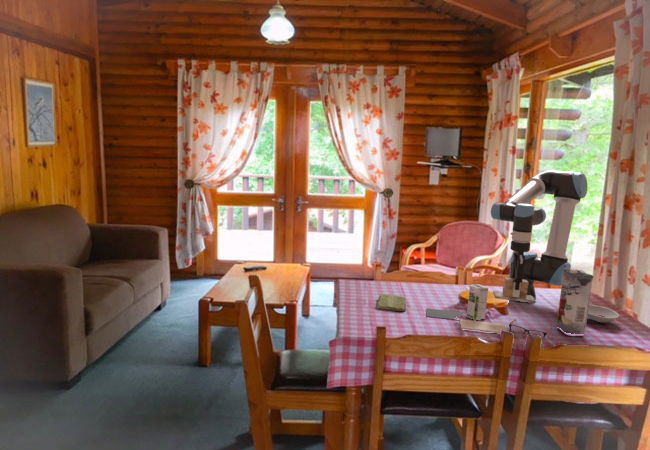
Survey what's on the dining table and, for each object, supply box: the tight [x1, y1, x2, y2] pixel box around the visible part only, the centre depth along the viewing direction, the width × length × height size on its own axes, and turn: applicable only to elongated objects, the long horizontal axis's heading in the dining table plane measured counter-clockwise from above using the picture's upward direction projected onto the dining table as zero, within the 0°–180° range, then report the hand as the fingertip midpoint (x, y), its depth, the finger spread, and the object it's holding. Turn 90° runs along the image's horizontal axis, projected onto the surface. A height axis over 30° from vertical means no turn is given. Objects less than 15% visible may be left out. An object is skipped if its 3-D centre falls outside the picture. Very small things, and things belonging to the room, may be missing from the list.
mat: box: [425, 308, 464, 320], centre depth 225 cm, size 16×11×1 cm
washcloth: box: [376, 293, 407, 313], centre depth 234 cm, size 13×18×3 cm
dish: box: [587, 304, 620, 323], centre depth 225 cm, size 18×14×5 cm
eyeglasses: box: [508, 319, 552, 338], centre depth 209 cm, size 14×14×4 cm
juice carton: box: [556, 267, 594, 335], centre depth 208 cm, size 9×10×27 cm
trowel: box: [492, 276, 537, 304], centre depth 217 cm, size 16×8×8 cm, turn 78°
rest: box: [459, 318, 508, 333], centre depth 210 cm, size 18×10×1 cm, turn 78°
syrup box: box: [466, 283, 489, 321], centre depth 221 cm, size 6×6×14 cm
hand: (514, 294), depth 217 cm, fingers closed on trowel, 4 cm apart
